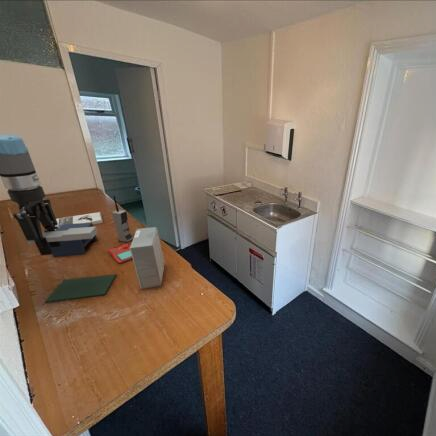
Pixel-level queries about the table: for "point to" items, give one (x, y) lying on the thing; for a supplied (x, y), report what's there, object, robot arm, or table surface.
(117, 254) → the handheld gaming console
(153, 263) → the hard drive box
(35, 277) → the table surface
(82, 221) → the book
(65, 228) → the navy slotted box
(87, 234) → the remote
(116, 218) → the vintage mobile phone
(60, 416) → the table surface
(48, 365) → the table surface
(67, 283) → the mat
